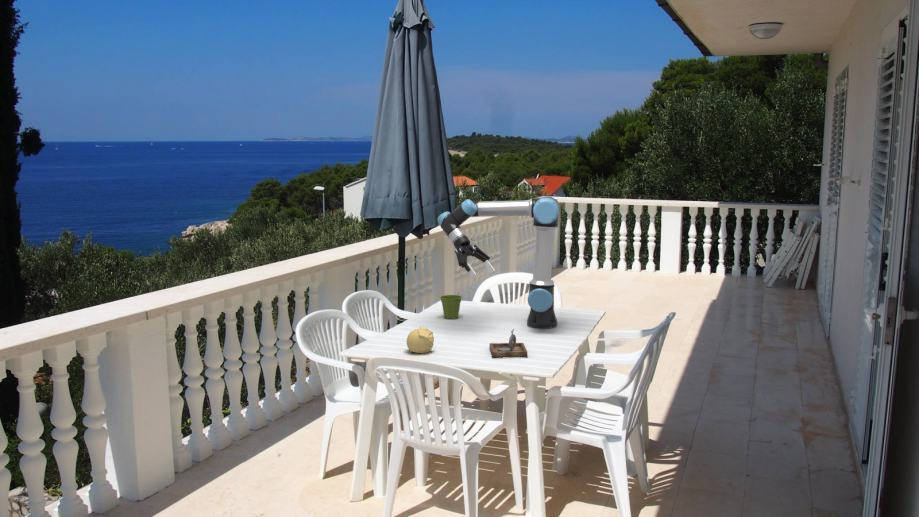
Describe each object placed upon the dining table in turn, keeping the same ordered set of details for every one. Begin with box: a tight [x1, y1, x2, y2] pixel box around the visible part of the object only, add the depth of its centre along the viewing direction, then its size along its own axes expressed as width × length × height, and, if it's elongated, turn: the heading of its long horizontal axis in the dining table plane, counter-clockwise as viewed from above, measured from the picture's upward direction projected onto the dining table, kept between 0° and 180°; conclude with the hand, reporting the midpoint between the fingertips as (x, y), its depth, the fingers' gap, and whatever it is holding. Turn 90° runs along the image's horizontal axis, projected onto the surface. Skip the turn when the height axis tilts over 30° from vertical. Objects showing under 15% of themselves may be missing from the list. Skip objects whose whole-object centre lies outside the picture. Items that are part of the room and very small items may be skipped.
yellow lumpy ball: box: [406, 326, 435, 354], centre depth 331 cm, size 12×12×11 cm
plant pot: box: [439, 294, 463, 320], centre depth 395 cm, size 12×12×11 cm
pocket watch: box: [497, 328, 517, 352], centre depth 326 cm, size 8×8×10 cm
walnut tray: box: [489, 342, 528, 359], centre depth 327 cm, size 15×15×2 cm
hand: (483, 274), depth 353 cm, fingers open, 13 cm apart
